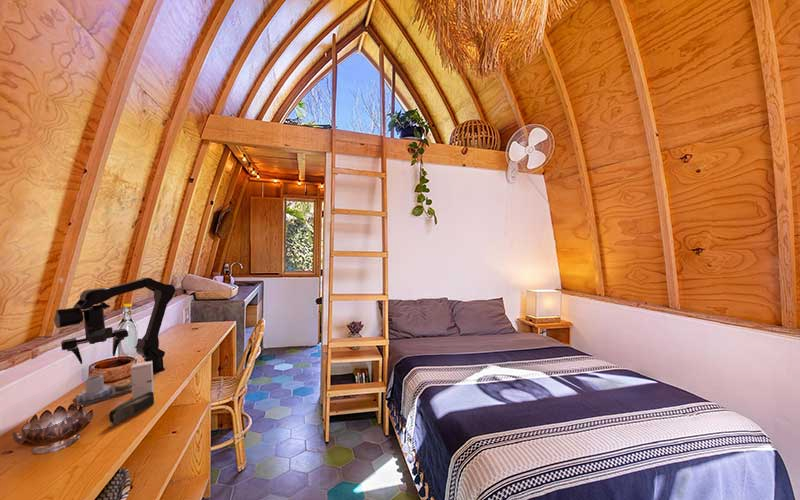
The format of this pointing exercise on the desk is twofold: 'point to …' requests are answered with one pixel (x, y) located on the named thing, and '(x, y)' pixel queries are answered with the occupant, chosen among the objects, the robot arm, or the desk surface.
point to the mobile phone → (131, 408)
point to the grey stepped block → (94, 388)
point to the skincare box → (142, 378)
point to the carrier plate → (117, 389)
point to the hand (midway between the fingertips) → (98, 359)
